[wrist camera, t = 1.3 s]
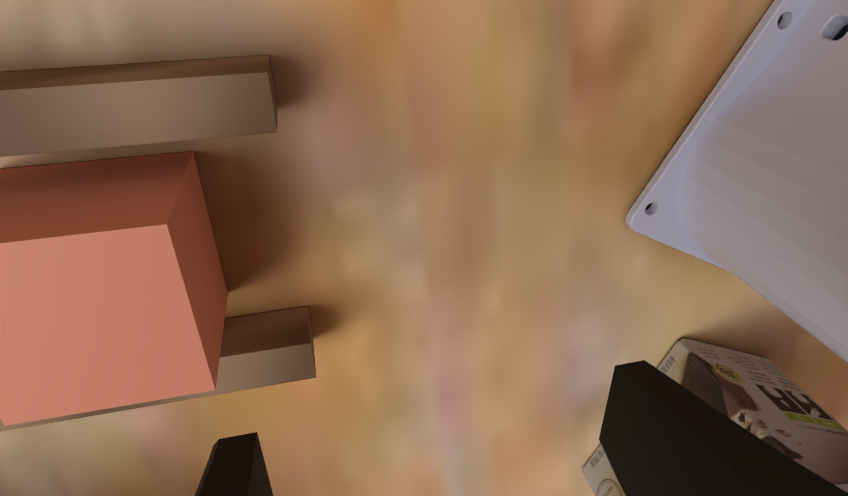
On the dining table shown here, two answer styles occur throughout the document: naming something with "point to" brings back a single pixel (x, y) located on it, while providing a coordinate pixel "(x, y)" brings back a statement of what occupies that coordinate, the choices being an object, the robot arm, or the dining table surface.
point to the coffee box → (748, 411)
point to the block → (106, 286)
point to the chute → (155, 123)
